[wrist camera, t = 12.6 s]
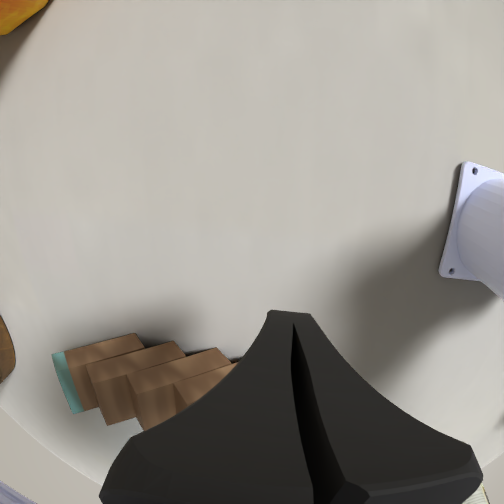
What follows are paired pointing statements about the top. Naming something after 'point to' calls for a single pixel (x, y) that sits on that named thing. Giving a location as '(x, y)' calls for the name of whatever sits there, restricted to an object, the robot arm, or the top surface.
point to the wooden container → (5, 352)
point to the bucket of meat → (17, 12)
